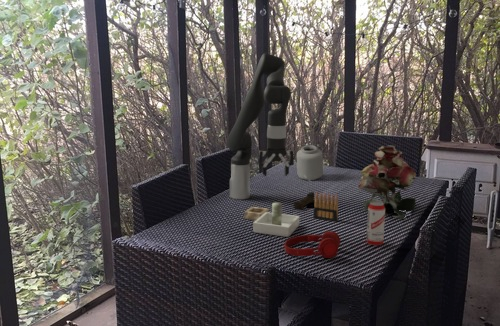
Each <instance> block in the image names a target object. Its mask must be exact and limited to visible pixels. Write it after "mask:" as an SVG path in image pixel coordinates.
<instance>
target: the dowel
mask: <svg viewBox="0 0 500 326" xmlns="http://www.w3.org/2000/svg"><path fill="white" fill-rule="evenodd" d="M271 213H272V224H273V225H280V226H282V214H283V203H282V202H273V203H271Z"/></svg>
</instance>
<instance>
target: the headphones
mask: <svg viewBox="0 0 500 326" xmlns="http://www.w3.org/2000/svg"><path fill="white" fill-rule="evenodd" d="M310 242H316V243H317V242H318V243H319V244H318V247H309V248H293V247H291V246H293V245H297V244H300V243H310ZM283 245H284V252H285V253H286V254H287V255H291V256H295V257H307V256H308V257H311V256H321V257H322V258H325V259H331V258H334V257H335V256H336V255H338V253H339V247H340V245H341V238H340V236H339V234H338V233H337V232H336V231H331V230H328V231H326V232H324V233H323V234H305V235H304V234H303V235H298V236H294V237H290V238H288V239H287V240H285V242H284V244H283Z"/></svg>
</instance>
